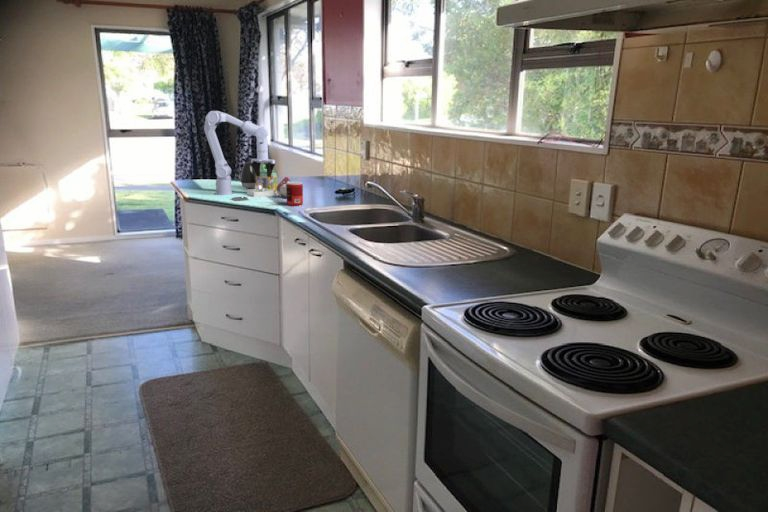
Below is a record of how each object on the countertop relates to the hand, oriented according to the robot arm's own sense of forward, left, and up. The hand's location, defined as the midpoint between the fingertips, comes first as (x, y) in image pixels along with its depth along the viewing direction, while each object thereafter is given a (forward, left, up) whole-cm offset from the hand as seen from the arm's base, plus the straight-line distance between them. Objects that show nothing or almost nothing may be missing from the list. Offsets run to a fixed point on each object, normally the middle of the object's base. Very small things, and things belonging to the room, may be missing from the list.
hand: (263, 176), depth 310 cm
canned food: (+37, +1, -10) cm, 38 cm away
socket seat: (+12, -18, -10) cm, 24 cm away
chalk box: (-13, +7, -10) cm, 18 cm away
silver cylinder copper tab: (+2, -4, -9) cm, 10 cm away
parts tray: (+2, -3, -10) cm, 11 cm away
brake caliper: (+15, +6, -10) cm, 19 cm away
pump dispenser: (-29, +3, -10) cm, 31 cm away
